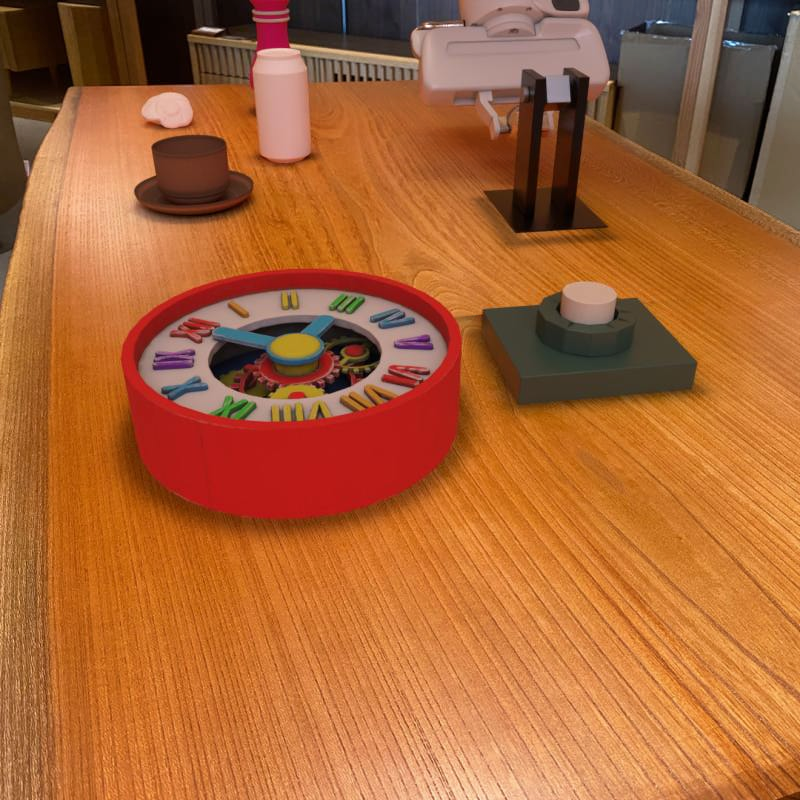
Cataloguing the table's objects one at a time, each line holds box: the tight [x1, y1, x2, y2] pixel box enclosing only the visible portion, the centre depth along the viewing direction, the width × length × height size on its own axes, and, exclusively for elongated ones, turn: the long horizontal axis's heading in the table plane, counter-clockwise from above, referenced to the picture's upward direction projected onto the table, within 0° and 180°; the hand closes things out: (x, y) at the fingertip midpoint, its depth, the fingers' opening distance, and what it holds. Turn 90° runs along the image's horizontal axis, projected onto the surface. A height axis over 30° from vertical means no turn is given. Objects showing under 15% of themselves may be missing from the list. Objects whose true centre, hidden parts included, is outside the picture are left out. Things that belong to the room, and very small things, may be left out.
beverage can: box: [252, 48, 312, 164], centre depth 98 cm, size 6×6×12 cm
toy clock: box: [120, 268, 463, 520], centre depth 52 cm, size 20×6×20 cm
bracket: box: [483, 68, 609, 234], centre depth 80 cm, size 12×9×14 cm
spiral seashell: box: [139, 91, 194, 130], centre depth 113 cm, size 7×5×4 cm
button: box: [560, 280, 618, 325], centre depth 57 cm, size 4×4×2 cm
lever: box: [505, 75, 571, 141], centre depth 82 cm, size 13×4×4 cm, turn 9°
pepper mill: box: [249, 0, 292, 91], centre depth 115 cm, size 7×7×20 cm
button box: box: [480, 290, 699, 406], centre depth 58 cm, size 12×10×4 cm
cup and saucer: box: [133, 134, 254, 216], centre depth 85 cm, size 12×12×6 cm
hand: (523, 135), depth 87 cm, fingers closed on lever, 3 cm apart
